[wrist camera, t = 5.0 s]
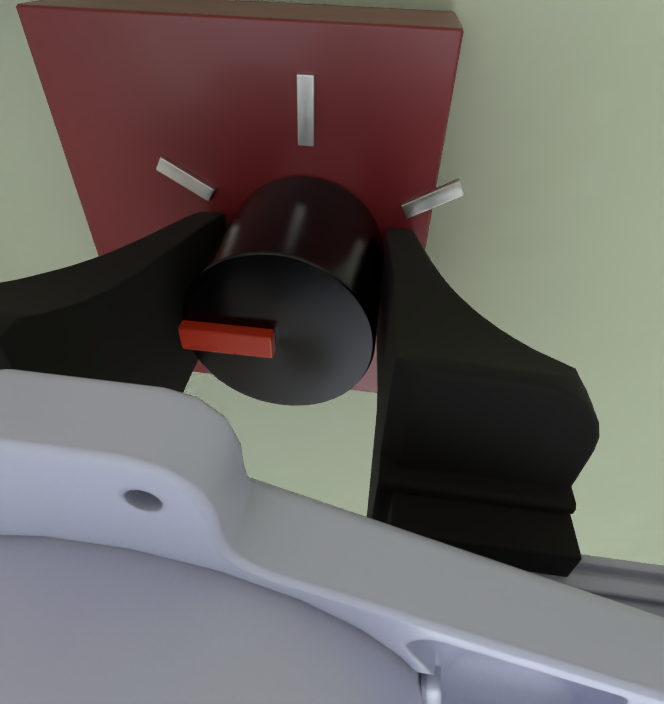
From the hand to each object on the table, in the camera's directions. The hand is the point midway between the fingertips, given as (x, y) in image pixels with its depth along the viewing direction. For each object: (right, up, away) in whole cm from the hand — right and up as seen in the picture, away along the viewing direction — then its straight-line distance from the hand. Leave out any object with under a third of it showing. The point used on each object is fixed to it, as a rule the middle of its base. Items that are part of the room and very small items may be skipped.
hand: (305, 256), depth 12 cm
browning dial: (0, 0, 0) cm, 0 cm away
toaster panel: (-1, +2, +2) cm, 3 cm away
